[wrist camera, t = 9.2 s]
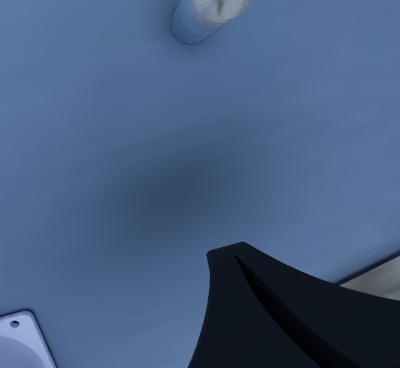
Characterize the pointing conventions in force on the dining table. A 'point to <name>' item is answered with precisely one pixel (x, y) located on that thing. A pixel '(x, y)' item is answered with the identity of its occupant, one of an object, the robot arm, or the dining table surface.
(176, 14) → the latch post
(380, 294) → the gate
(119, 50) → the dining table surface
